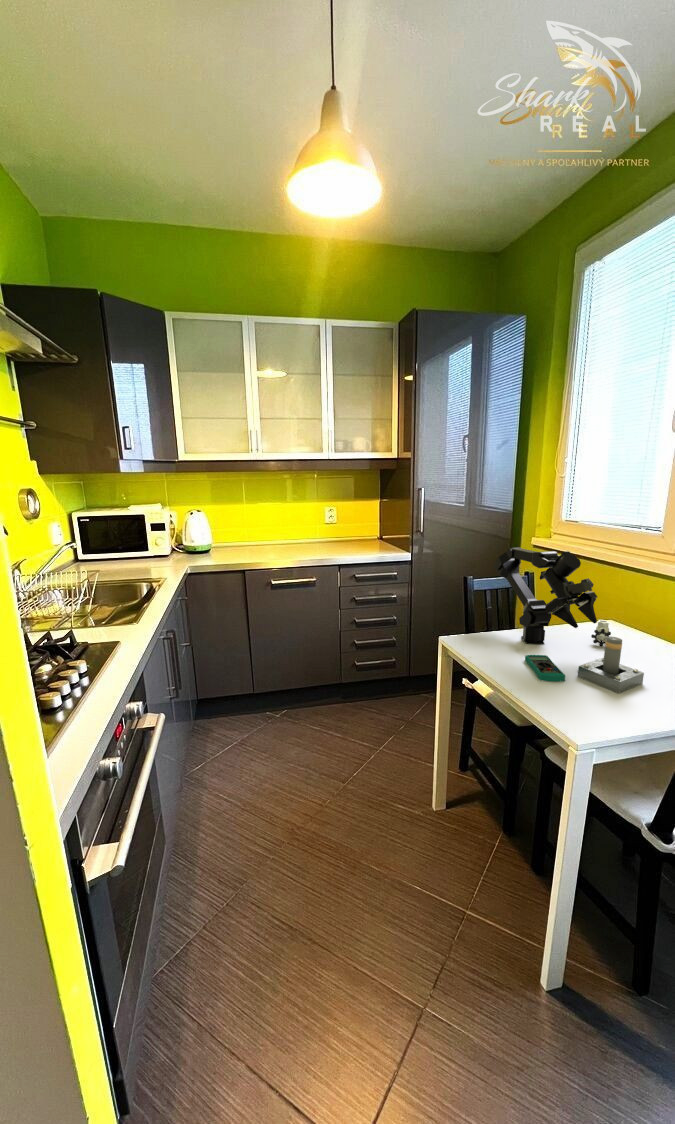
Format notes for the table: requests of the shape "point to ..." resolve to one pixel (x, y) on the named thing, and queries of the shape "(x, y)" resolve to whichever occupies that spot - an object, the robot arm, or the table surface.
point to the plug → (612, 655)
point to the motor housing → (610, 676)
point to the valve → (601, 632)
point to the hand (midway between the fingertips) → (586, 625)
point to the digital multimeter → (544, 668)
